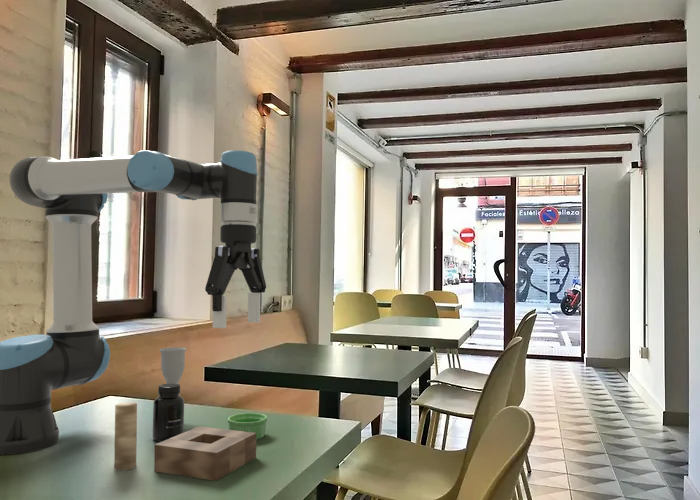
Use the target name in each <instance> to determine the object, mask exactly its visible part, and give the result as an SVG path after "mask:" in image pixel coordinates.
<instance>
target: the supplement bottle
mask: <svg viewBox="0 0 700 500" xmlns="http://www.w3.org/2000/svg"><path fill="white" fill-rule="evenodd" d="M157 387H158V388H157V389H158V391H157V395H158V396H157V397H156V398H155V399H154V400H153V405H152V439H153V440H154V441H156V442H162V441H165V440H167V439H170V438H172V437H174V436H177V435H179V434H182V433H184V432H185V428H184V426H185V399H184V398H183V396H182V395H180V394H181V384H180V383H178V384H167V383H163V384H159V385H158V386H157Z"/></svg>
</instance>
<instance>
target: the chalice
mask: <svg viewBox="0 0 700 500" xmlns="http://www.w3.org/2000/svg"><path fill="white" fill-rule="evenodd" d="M186 352H187V348H186V347H181V346H180V347H178V346H177V347H176V346H175V347H163V348H159V353H160V354H161V355H160V358H161V359H160V369H161V373H162V375H163V378H164V381H165V382H166V384H180V383H179V382H180V380H181V378H182V376H183V373H184V370H185V359H186V358H185V355H186V354H185V353H186Z"/></svg>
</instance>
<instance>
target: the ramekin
mask: <svg viewBox="0 0 700 500" xmlns="http://www.w3.org/2000/svg"><path fill="white" fill-rule="evenodd" d="M267 420H268V416H267V415H266V414H263V413H258V412H257V413H256V412H244V413H241V412H240V413H236V414H233V415H230V416H228V418H227V422H228V430H235V431H243V432H252V433H256V441H257V440H261V439H262V438H263V437H264V436H265V435H266V424H267Z"/></svg>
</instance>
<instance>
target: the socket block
mask: <svg viewBox="0 0 700 500" xmlns="http://www.w3.org/2000/svg"><path fill="white" fill-rule="evenodd" d="M153 457H154V462H153V463H154V472H156V473H157V472H158V473H163V474H170V475H171V474H172V475H176V476H177V475H178V476H184V477H190V478H197V479H204V480H211V481H216V482H217V481H218V480H220V479H222V478H223V477H225V476H227V475H229V474H231V473H233V472H234V471H236V470H237V469H239V468H241V467H243V466H244V465H246V464H247V463H250V462H251V461H253V460H255V459H256V458H257V440H256V433H252V432H243V431H235V430H229V429H226V428H217V427H206V426H196V427H194V428H192V429H189V430H187V431H184V433H182V434H179V435H177V436H174V437H172V438H170V439H167V440H165V441H162V442H161V441H159V442H158V443H155V444H154V455H153Z"/></svg>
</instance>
